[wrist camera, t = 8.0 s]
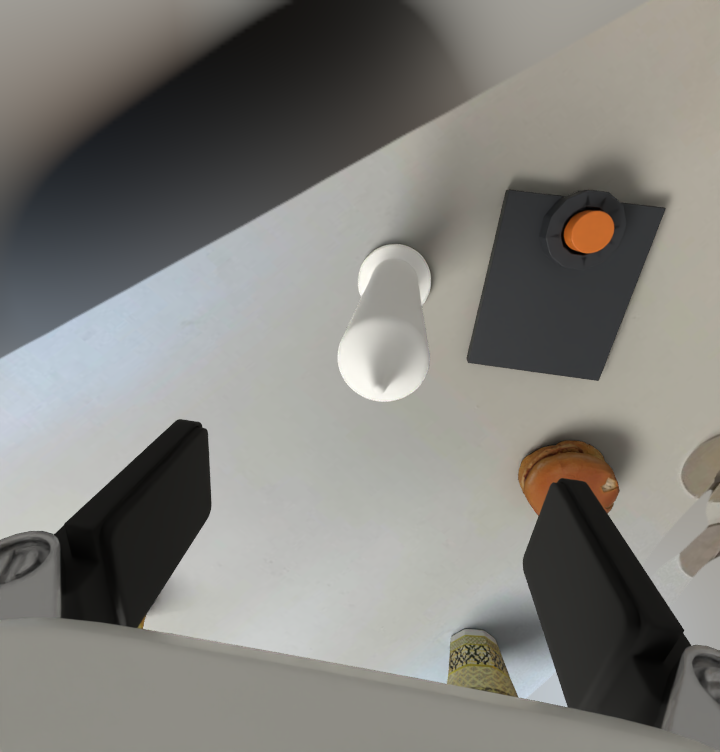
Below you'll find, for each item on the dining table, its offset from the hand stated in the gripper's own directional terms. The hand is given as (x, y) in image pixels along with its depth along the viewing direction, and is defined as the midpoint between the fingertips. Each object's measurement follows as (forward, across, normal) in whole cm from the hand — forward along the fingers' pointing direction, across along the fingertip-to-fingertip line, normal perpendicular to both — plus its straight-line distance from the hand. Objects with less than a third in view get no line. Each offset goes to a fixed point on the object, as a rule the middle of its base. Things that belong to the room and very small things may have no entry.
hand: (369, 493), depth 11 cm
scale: (+31, -15, -2) cm, 34 cm away
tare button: (+28, -15, -7) cm, 33 cm away
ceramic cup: (+32, -18, +51) cm, 63 cm away
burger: (+32, -22, +18) cm, 42 cm away
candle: (+31, 0, 0) cm, 31 cm away
